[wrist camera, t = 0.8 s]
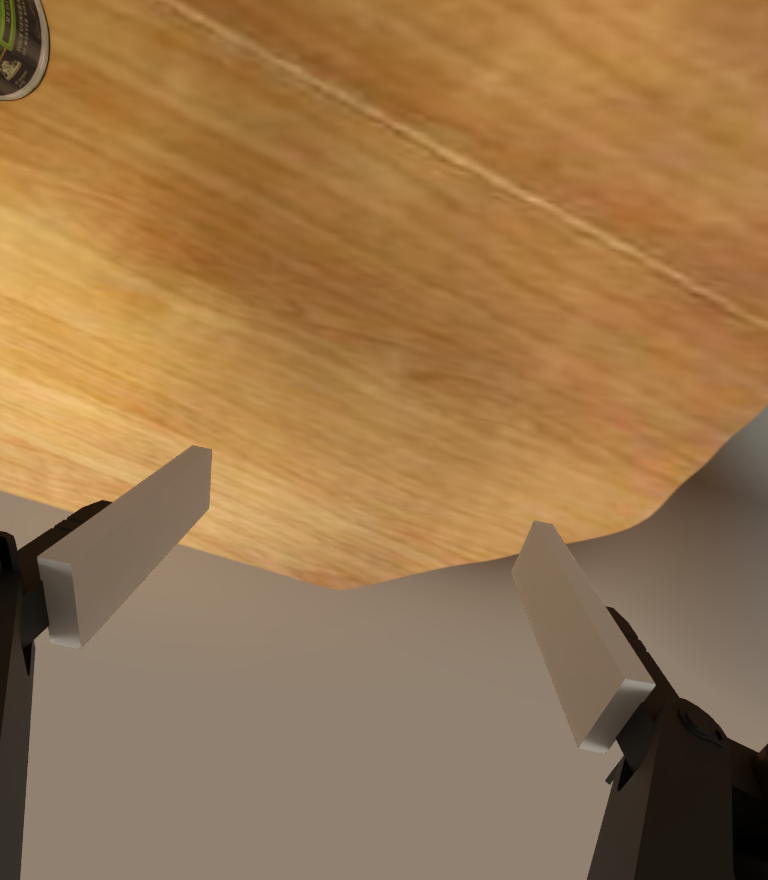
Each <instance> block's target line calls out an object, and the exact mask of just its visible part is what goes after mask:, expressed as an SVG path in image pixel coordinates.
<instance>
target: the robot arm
mask: <svg viewBox="0 0 768 880" xmlns="http://www.w3.org/2000/svg"><path fill="white" fill-rule="evenodd" d="M211 462H212V449H208V448H203V447H199V446H194V445H192V446H191V447H190V448H188V449H187V450H185V451H184V452H183V453H181V454H180V455H178V456H177V457H176V458H174V459H173V460H171V461H170V462H169V463H167V464H166V465H164V466H163V467H162V468H160V469H159V470H157V471H156V472H155V473H153V474H152V475H150V476H149V477H148V478H146V479H145V480H143V481H142V482H141V483H139V484H138V485H136V486H135V487H134V488H132V489H131V490H129V491H128V492H127V493H125V494H124V495H122V496H121V497H120V498H118V499H117V500H116V501H114V502H109V501H104V500H101V501H99V502H96V503H93V504H91V505H88V506H85V507H82V508H81V509H79V510H78V511H76V512H75V513H73V514H72V515H71V516H69V517H67V520H63V521H62V522H60V523H58V524H57V525H55V526H54V528H53V529H52V528H51V529H50V530H48V531H47V532H45V533H43V534H42V535H40V536H39V537H37V538H36V539H34V540H33V541H32V542H30V543H28V544H27V545H25V546H24V547H22V548H21V549H19V550H18V551H17V547H16V542H15V539H14V536H13V535H11V534H9V533H7V532H2V531H0V880H20V871H21V857H22V842H23V827H24V810H25V796H26V781H27V766H28V751H29V736H30V720H31V705H32V689H33V675H34V660H35V645H34V639H35V638H36V637H37V636H38V635H39V634H40V633H42V632H43V631H44V630H45V629H46V628H47V627H48V629H49V635H50V641H51V643H53V644H58V645H63V646H68V647H73V648H78V649H82V648H83V647H84V645H85V644H86V643H87V642H88V641H89V640H90V639H91V638H92V637H93V636H94V635H95V633H96V632H97V631H98V630H99V629H100V628H101V627H102V626H103V625H104V624H105V622H106V621H107V620H108V619H109V618H110V617H111V616H112V615H113V613H115V611H116V610H117V609H118V608H119V607H120V606H121V605H122V604H123V603H124V601H125V600H126V599H127V598H128V597H129V596H130V595H131V594H132V593H133V592H134V591H135V589H136V588H137V587H138V586H139V585H140V584H141V583H142V582H143V581H144V580H145V578H146V577H147V576H148V575H149V574H150V573H151V572H152V571H153V569H155V567H156V566H157V565H158V564H159V563H160V562H161V561H162V560H163V559H164V557H165V556H166V555H167V554H168V553H169V552H170V551H171V550H172V549H173V547H175V545H176V544H177V543H178V542H179V541H180V540H181V539H182V538H183V537H184V536H185V534H186V533H187V532H188V531H189V530H190V529H191V528H192V527H193V526H194V524H195V523H196V522H197V521H198V520H199V519H200V518H201V517H202V516H203V515H204V513H205V512H206V511H207V510H208V509H209V501H210V482H211ZM511 575H512V577H513V580H514V582H515V585H516V587H517V590H518V593H519V596H520V598H521V601H522V603H523V606H524V609H525V611H526V614H527V616H528V619H529V621H530V624H531V627H532V629H533V632H534V635H535V637H536V639H537V642H538V645H539V647H540V650H541V653H542V655H543V658H544V660H545V663H546V666H547V668H548V671H549V673H550V676H551V679H552V681H553V684H554V687H555V689H556V692H557V694H558V697H559V700H560V702H561V705H562V708H563V710H564V713H565V715H566V718H567V720H568V723H569V726H570V728H571V731H572V734H573V736H574V739H575V741H576V744H577V747H578V748H580V749H585V750H590V751H595V752H600V753H607V751H608V750H609V748H610V747H611V746H612V744H613V743H614V742H615V740H617V742H618V744H619V746H620V748H621V750H622V752H623V754H624V756H623V757H622V759H621V760H620V762H619V763H618V764H617V765H616V767H615V768H614V769H613V771H612V772H611V773H610V775H609V776H608V777H607V779H606V780H605V781H606V782H607V783H608V784H611V782H612V781H613V784H612V788H611V792H610V796H609V799H608V803H607V807H606V810H605V814H604V818H603V821H602V825H601V829H600V833H599V836H598V840H597V844H596V848H595V851H594V855H593V859H592V863H591V866H590V870H589V874H588V878H587V880H768V744H767V745H766V746H765V747H764V748H763V749H762V750H761V751H760V752H759V753H758V752H756V751H754V750H752V749H750V748H748V747H745V746H744V745H741V744H739V743H737V742H735V741H733V740H731V739H729V738H727V736H726V735H725V733H724V732H723V730H722V729H721V727H720V726H719V725H718V724H717V723H716V722H715V721H714V720H713V719H712V718H711V717H710V716H709V715H708V714H707V713H706V712H704V711H703V710H702V709H701V708H699V707H698V706H696V705H695V704H693V703H691V702H689V701H688V700H686V699H682V698H679V696H678V695H677V693H676V692H675V690H674V689H673V688H672V686H671V685H670V683H669V682H668V680H667V679H666V677H665V676H664V674H663V673H662V671H661V670H660V668H659V667H658V666H657V664H656V663H655V661H654V660H653V658H652V657H651V655H650V654H649V653H648V652H646V648H645V646H644V645H643V644H642V642H641V641H640V640H638V636H637V635H636V633H635V632H634V630H633V629H632V628H631V626H630V625H629V623H628V622H627V621H626V620H625V619H624V618H623V617H622V616H621V615H620V614H619V613H618V612H617V611H616V610H615V609H614V608H611V607H606V606H605V605H604V604H603V602H602V600H601V599H600V597H599V596H598V594H597V593H596V591H595V590H594V588H593V586H592V585H591V583H590V582H589V580H588V579H587V577H586V576H585V574H584V573H583V571H582V569H581V568H580V566H579V565H578V563H577V562H576V560H575V559H574V557H573V555H572V554H571V552H570V551H569V549H568V548H567V546H566V545H565V543H564V542H563V540H562V538H561V537H560V535H559V534H558V532H557V531H556V529H555V528H554V526H553V524H548V523H544V522H539V521H535V520H534V522H533V524H532V527H531V529H530V531H529V533H528V536H527V538H526V540H525V542H524V545H523V547H522V549H521V551H520V554H519V556H518V558H517V561H516V563H515V565H514V567H513V570H512V572H511Z"/></svg>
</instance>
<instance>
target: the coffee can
mask: <svg viewBox="0 0 768 880" xmlns="http://www.w3.org/2000/svg"><path fill="white" fill-rule="evenodd" d="M48 57H49V34H48V27H47V23H46V19H45V14H44V11H43V7H42V4H41V2H40V0H0V100H14V99H19V98H22V97H24V96H26V95H27V94H29V93H30V92H31V91H33V90H34V89H35V88H36V87H37V86H38V84H39V83H40V81H41V79H42V77H43V75H44V73H45V70H46V66H47V62H48Z"/></svg>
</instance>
